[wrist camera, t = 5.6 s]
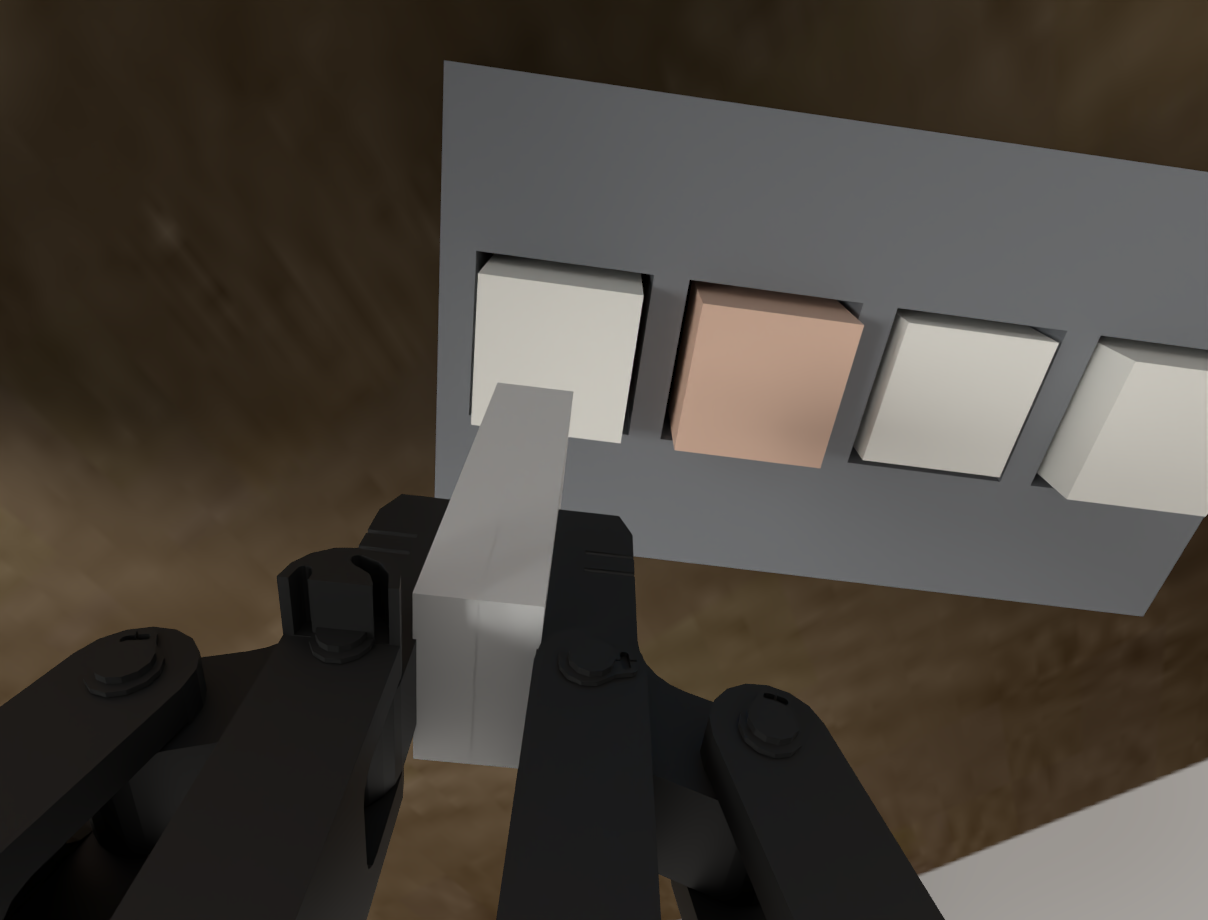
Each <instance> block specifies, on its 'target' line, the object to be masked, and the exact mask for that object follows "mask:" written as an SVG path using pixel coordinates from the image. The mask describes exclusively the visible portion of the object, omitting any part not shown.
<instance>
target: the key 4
mask: <svg viewBox="0 0 1208 920" xmlns="http://www.w3.org/2000/svg"><path fill="white" fill-rule="evenodd" d="M1037 473H1038V474H1039V475H1040V476H1041V477H1042V478H1043V479H1044V480H1045V481H1047V482H1048V483H1049V484H1050V485H1051V486H1052V487H1053V488H1054V489H1056V490H1057V491H1058V492H1059V493H1060V494H1061V495H1062V496H1063V497H1065V498H1066V499H1068V500H1076V501H1084V502H1092V503H1100V504H1108V505H1116V506H1124V507H1132V508H1140V509H1148V510H1156V511H1164V512H1172V513H1180V514H1188V515H1196V516H1204V517H1206V516H1207V514H1208V350H1205V349H1197V348H1190V347H1182V346H1175V345H1168V344H1160V343H1153V342H1146V341H1138V340H1131V339H1123V338H1116V337H1109V336H1100V338H1099V340H1098V343H1097V345H1096V347H1095V349H1094V351H1093V353H1092V355H1091V358H1090V360H1089V362H1088V364H1087V366H1086V368H1085V370H1084V372H1083V375H1082V377H1081V379H1080V381H1079V383H1078V385H1077V387H1076V390H1075V392H1074V394H1073V396H1072V398H1071V400H1070V402H1069V404H1068V407H1067V409H1066V411H1065V413H1064V415H1063V417H1062V419H1061V422H1060V424H1059V426H1058V428H1057V430H1056V432H1055V434H1054V436H1053V439H1052V441H1051V443H1050V445H1049V447H1048V449H1047V451H1046V454H1045V456H1044V458H1043V460H1042V462H1041V464H1040V466H1039V468H1038V471H1037Z"/></svg>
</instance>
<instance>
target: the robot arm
mask: <svg viewBox="0 0 1208 920" xmlns="http://www.w3.org/2000/svg"><path fill="white" fill-rule="evenodd" d="M572 400H573V391H565V390H557V389H548V388H540V387H532V386H523V385H515V384H506V383H497V385H496V388H495V390H494V393H493V395H492V398H491V400H490V402H489V405H488V407H487V410H486V412H485V415H484V417H483V420H482V422H481V425H480V427H479V430H478V432H477V435H476V437H475V440H474V442H473V445H472V447H471V450H470V452H469V454H468V457H467V459H466V462H465V464H464V467H463V469H462V472H461V474H460V477H459V479H458V482H457V484H456V487H455V489H454V492H453V494H452V497H451V499H442V498H433V497H424V496H414V495H405V494H401V495H400V496H398V497H397V498H395V499H394V500H393V501H391V502H390V503H388V504H387V505H385V506H384V507H382V508H381V509H379V511H378V513H377V515H376V516H375V518H374V520H373V522H372V523H371V525H370V527H369V529H368V533H366V534H365V536H364V538H363V539H362V541H361V543H360V545H359V548H332V549H328V550H323V551H319V552H314V553H311V554H308V555H306V556H304V557H302V558H300V559H298V560H296V561H294V562H292V563H290V564H289V565H288V566H287V567H286V568H285V569H284V570H283V571H282V572H281V573H280V574H279V575H278V576H277V583H278V592H279V601H280V609H281V618H282V627H283V636H282V638H281V639H280V641H279V643H278V644H275V645H272V646H270V647H266V648H262V649H257V650H252V651H247V652H239V653H231V654H224V655H216V656H209V657H201V656H200V652H199V650H198V648H197V646H196V644H195V642H194V640H193V638H191V637H189V636H187V635H185V634H183V633H182V632H180V631H178V630H175V629H167V628H159V627H147V628H138V629H130V630H125V631H122V632H119V633H116V634H112V635H109V636H106V637H103V638H100V639H98V640H96V641H94V642H93V643H91V644H89V645H87V646H86V647H84V648H82V649H80V650H79V651H77V652H75V653H73V654H72V655H71V656H69V657H68V658H67V659H65V660H64V661H62V662H61V663H60V664H58V665H57V666H56V667H54V668H53V669H51V670H50V671H49V672H47V673H46V674H45V675H43V676H42V677H41V678H39V679H38V680H36V681H35V682H34V683H32V684H31V685H30V686H28V687H27V688H25V689H24V690H23V691H21V692H20V693H19V694H17V695H16V696H15V697H13V698H12V699H10V700H9V701H8V702H6V703H5V704H4V705H2V706H1V707H0V920H366V919H367V916H368V913H369V909H370V906H371V903H372V899H373V896H374V892H375V889H376V886H377V882H378V879H379V876H380V872H381V869H382V865H383V862H384V859H385V855H386V852H387V849H388V845H389V842H390V839H391V835H392V832H393V828H394V825H395V822H396V818H397V815H398V812H399V808H400V805H401V801H402V798H403V785H404V763H405V760H406V757H407V753H408V750H409V747H410V744H411V741H412V737H413V759H423V760H434V761H444V762H455V763H466V764H477V765H487V766H498V767H509V768H518V773H517V780H516V787H515V794H514V801H513V807H512V814H511V821H510V828H509V835H508V842H507V849H506V856H505V863H504V870H503V877H502V884H501V891H500V898H499V905H498V911H497V918H496V920H661V912H660V894H659V877H658V874H660V875H662V876H664V877H667V878H669V879H671V884H672V888H673V891H674V895H675V898H676V901H677V904H678V908H679V911H680V914H681V918H682V920H945V919H944V918H943V916H942V914H941V913H940V911H939V909H938V908H937V906H936V905H935V903H934V901H933V900H932V898H931V897H930V895H929V893H928V892H927V890H926V888H925V887H924V885H923V884H922V882H921V880H920V879H919V877H918V875H917V874H916V872H915V870H914V869H913V867H912V866H911V864H910V862H909V861H908V859H907V857H906V856H905V854H904V853H903V851H902V849H901V848H900V846H899V844H898V843H897V841H896V840H895V838H894V836H893V835H892V833H891V832H890V830H889V828H888V827H887V825H886V823H885V822H884V820H883V819H882V817H881V815H880V814H879V812H878V810H877V809H876V807H875V806H874V804H873V802H872V801H871V799H870V797H869V796H868V794H867V793H866V791H865V789H864V788H863V786H862V784H861V783H860V781H859V780H858V778H857V776H856V775H855V773H854V771H853V770H852V768H851V767H850V765H849V763H848V762H847V760H846V759H845V757H844V755H843V754H842V752H841V750H840V749H839V747H838V746H837V744H836V742H835V741H834V739H833V737H832V736H831V734H830V733H829V731H828V729H827V728H826V726H825V724H824V723H823V722H822V721H821V720H820V718H819V717H818V716H817V715H816V714H815V713H814V711H813V710H812V709H811V708H810V707H809V706H808V705H806V704H805V703H803V702H802V701H800V700H799V699H797V698H796V697H794V696H793V695H791V694H790V693H788V692H785V691H782V690H779V689H776V688H773V687H771V686H768V685H756V684H743V685H740V686H736V687H732V688H729V689H727V690H725V691H724V692H723V693H722V694H721V695H720V696H718V697H717V698H716V699H715V700H714V702H711V701H709V700H706V699H703V698H701V697H698V696H695V695H692V694H690V693H687V692H684V691H682V690H680V689H678V688H676V687H674V686H672V685H670V684H668V683H667V682H665V681H664V680H663V679H661V678H660V677H658V676H657V675H656V674H655V673H654V672H653V671H652V670H651V669H650V668H649V666H648V665H647V664H646V663H645V661H644V659H643V656H642V654H641V653H640V651H639V646H638V641H637V621H636V599H635V577H634V560H633V556H634V555H633V535H632V533H631V532H630V531H629V529H628V528H627V526H626V525H625V523H624V522H623V521H622V519H621V518H620V516H615V515H606V514H597V513H588V512H579V511H570V510H561V500H562V491H563V482H564V473H565V464H566V454H567V445H568V436H569V427H570V418H571V409H572Z"/></svg>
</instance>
